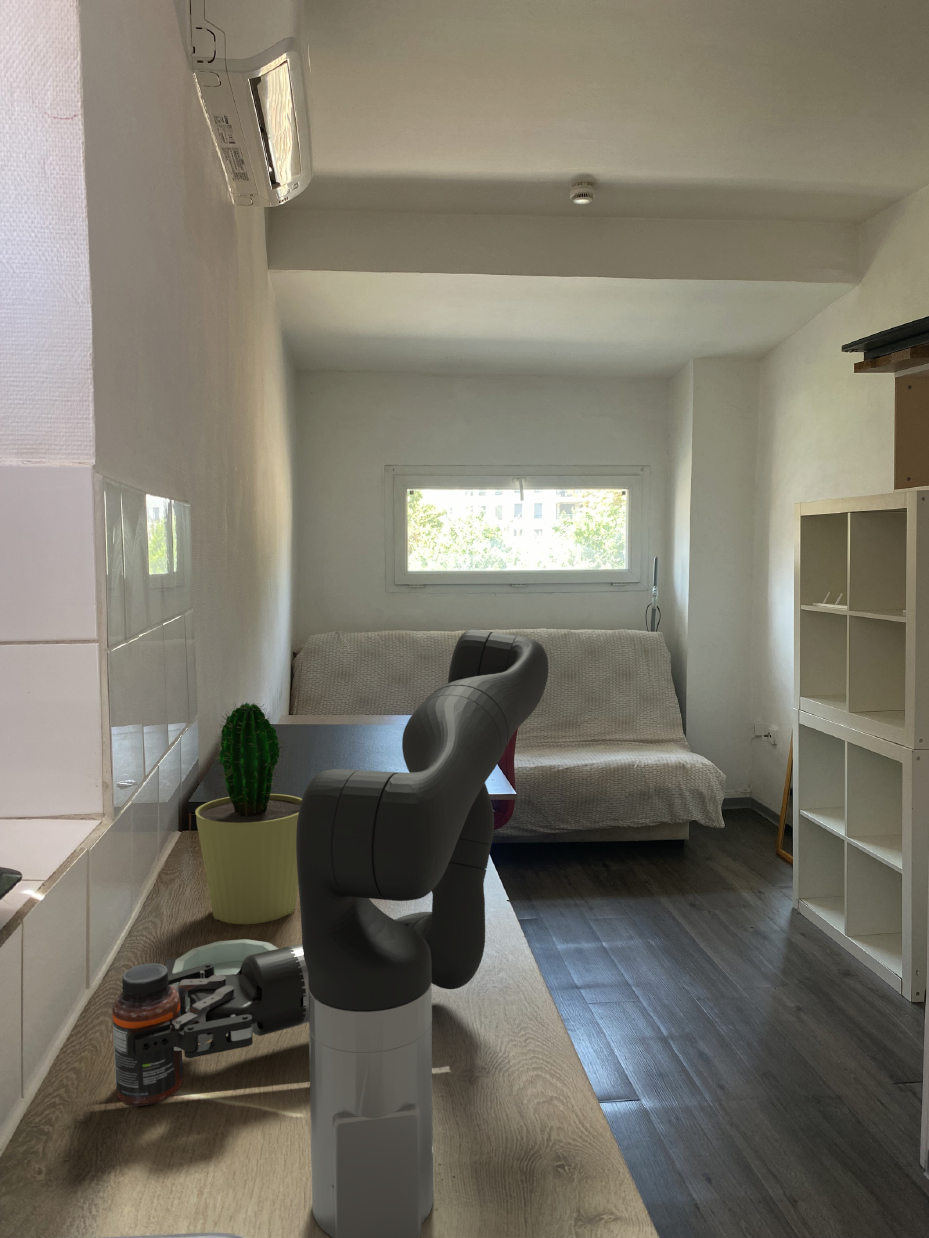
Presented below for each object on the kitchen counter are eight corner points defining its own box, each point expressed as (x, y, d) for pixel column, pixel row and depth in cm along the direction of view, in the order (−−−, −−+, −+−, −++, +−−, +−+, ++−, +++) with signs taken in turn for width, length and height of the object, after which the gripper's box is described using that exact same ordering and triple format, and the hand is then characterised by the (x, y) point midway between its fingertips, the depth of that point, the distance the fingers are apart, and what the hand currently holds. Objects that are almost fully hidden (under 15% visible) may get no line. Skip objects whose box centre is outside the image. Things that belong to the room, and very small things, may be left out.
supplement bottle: (160, 1065, 89) (157, 952, 89) (196, 1087, 86) (193, 969, 85) (102, 1092, 85) (98, 973, 84) (137, 1117, 81) (134, 992, 80)
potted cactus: (321, 922, 125) (318, 703, 123) (203, 940, 119) (198, 710, 117) (298, 885, 139) (295, 688, 137) (192, 899, 133) (187, 694, 131)
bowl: (282, 1006, 100) (281, 980, 100) (167, 1017, 98) (167, 990, 98) (283, 960, 112) (282, 936, 112) (180, 968, 110) (180, 944, 110)
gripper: (271, 924, 98) (104, 959, 89) (322, 975, 86) (134, 1023, 77) (272, 992, 99) (106, 1034, 90) (323, 1053, 86) (137, 1109, 78)
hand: (120, 1028), depth 84 cm, fingers closed on supplement bottle, 6 cm apart
